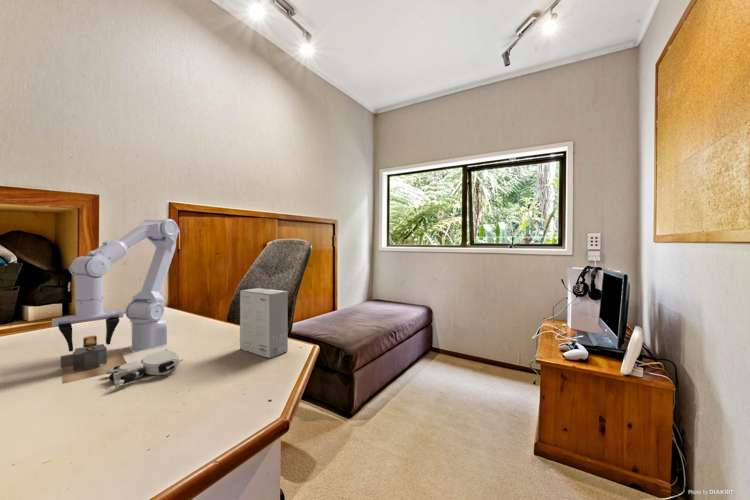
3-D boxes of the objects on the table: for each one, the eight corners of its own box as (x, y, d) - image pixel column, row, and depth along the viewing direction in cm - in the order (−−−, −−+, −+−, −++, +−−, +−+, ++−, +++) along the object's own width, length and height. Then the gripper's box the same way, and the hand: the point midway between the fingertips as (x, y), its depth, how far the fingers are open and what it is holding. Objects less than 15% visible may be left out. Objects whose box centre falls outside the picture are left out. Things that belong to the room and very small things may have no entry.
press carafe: (105, 359, 91) (105, 343, 91) (108, 365, 86) (107, 348, 86) (60, 367, 84) (60, 350, 84) (60, 375, 79) (60, 357, 79)
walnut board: (120, 353, 97) (120, 351, 97) (129, 370, 84) (129, 368, 84) (62, 364, 88) (62, 363, 88) (62, 385, 75) (62, 383, 75)
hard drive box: (288, 351, 100) (288, 291, 100) (269, 359, 93) (269, 294, 93) (258, 343, 108) (258, 287, 108) (238, 349, 102) (238, 289, 101)
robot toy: (116, 397, 72) (186, 371, 83) (114, 378, 71) (185, 355, 83) (104, 381, 79) (170, 360, 91) (102, 365, 79) (169, 346, 91)
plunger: (100, 358, 89) (100, 333, 89) (102, 362, 86) (102, 337, 86) (78, 362, 86) (77, 337, 86) (78, 367, 83) (78, 340, 82)
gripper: (120, 294, 94) (120, 338, 94) (51, 300, 83) (51, 350, 83) (124, 297, 89) (125, 343, 89) (52, 304, 78) (53, 356, 78)
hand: (90, 347), depth 86 cm, fingers open, 7 cm apart
